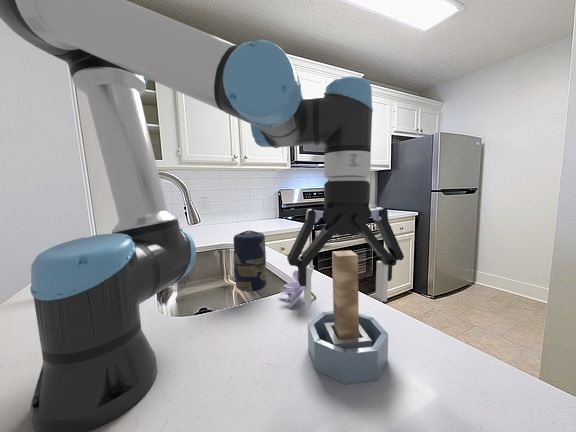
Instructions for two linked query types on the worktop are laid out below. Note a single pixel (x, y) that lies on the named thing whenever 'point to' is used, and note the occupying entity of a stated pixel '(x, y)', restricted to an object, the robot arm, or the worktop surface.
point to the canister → (250, 261)
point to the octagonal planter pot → (348, 349)
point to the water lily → (295, 288)
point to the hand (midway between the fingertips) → (344, 300)
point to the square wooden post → (345, 294)
